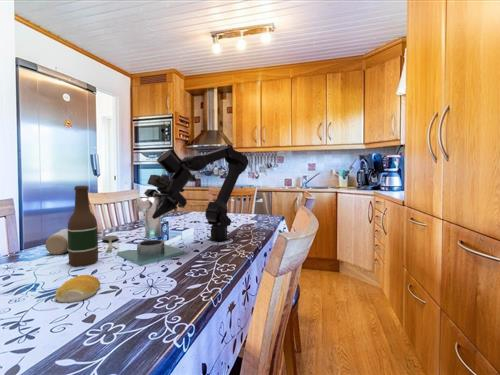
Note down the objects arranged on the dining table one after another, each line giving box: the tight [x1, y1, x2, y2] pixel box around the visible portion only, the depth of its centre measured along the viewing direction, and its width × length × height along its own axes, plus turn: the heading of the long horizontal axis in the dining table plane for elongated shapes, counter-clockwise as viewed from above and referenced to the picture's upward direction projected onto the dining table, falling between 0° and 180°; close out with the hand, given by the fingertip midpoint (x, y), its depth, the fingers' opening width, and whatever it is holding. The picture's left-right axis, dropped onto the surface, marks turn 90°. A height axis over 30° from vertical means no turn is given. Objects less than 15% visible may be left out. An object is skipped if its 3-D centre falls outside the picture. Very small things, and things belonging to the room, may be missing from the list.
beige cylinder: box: [44, 228, 68, 256], centre depth 94 cm, size 11×8×8 cm
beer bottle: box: [67, 185, 99, 268], centre depth 82 cm, size 8×8×24 cm
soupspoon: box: [101, 235, 120, 254], centre depth 103 cm, size 22×3×7 cm
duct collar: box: [116, 239, 186, 266], centre depth 91 cm, size 16×16×4 cm
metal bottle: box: [134, 196, 162, 239], centre depth 87 cm, size 8×5×13 cm, turn 139°
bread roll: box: [54, 274, 101, 303], centre depth 61 cm, size 8×9×4 cm
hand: (149, 217), depth 87 cm, fingers closed on metal bottle, 5 cm apart
